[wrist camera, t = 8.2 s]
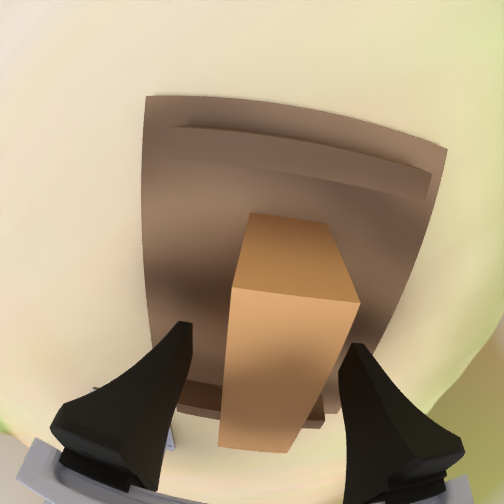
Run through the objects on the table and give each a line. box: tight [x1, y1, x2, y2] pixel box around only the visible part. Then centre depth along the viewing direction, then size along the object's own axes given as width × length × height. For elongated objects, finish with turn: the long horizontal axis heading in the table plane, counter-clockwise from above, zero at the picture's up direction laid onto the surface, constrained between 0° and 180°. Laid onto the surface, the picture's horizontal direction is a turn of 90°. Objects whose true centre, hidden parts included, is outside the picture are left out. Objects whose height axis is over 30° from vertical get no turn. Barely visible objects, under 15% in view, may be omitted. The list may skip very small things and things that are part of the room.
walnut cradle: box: [141, 96, 448, 429], centre depth 14 cm, size 20×14×3 cm
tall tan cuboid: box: [218, 212, 360, 453], centre depth 12 cm, size 10×4×6 cm, turn 173°
